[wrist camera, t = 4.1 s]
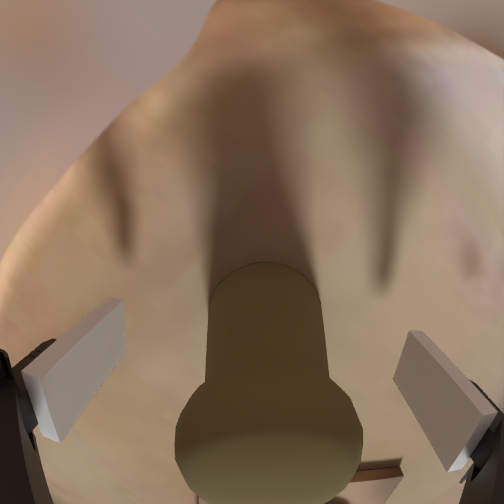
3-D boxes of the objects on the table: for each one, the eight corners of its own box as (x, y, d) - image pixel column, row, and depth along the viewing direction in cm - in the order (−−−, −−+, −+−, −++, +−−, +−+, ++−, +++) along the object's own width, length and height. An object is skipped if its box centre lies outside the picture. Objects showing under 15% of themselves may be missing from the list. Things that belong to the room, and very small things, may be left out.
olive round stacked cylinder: (273, 382, 18) (281, 550, 7) (187, 324, 17) (110, 484, 6) (344, 307, 16) (435, 458, 6) (255, 237, 16) (244, 350, 5)
